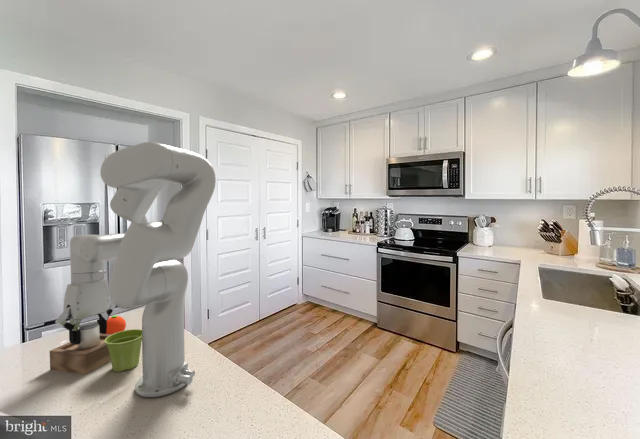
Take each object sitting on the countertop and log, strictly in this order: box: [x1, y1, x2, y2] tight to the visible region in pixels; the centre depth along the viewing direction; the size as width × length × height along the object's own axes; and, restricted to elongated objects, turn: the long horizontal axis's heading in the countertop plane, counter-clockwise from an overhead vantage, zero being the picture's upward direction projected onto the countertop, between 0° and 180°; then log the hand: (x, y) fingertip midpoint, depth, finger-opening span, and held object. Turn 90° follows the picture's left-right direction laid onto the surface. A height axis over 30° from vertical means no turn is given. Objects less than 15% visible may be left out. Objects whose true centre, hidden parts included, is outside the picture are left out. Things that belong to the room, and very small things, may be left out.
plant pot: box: [104, 328, 142, 373], centre depth 80 cm, size 9×9×9 cm
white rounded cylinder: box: [78, 321, 100, 349], centre depth 83 cm, size 5×5×6 cm
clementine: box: [106, 315, 127, 334], centre depth 101 cm, size 8×7×7 cm
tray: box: [49, 334, 112, 375], centre depth 83 cm, size 12×12×6 cm
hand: (89, 337), depth 83 cm, fingers open, 6 cm apart
